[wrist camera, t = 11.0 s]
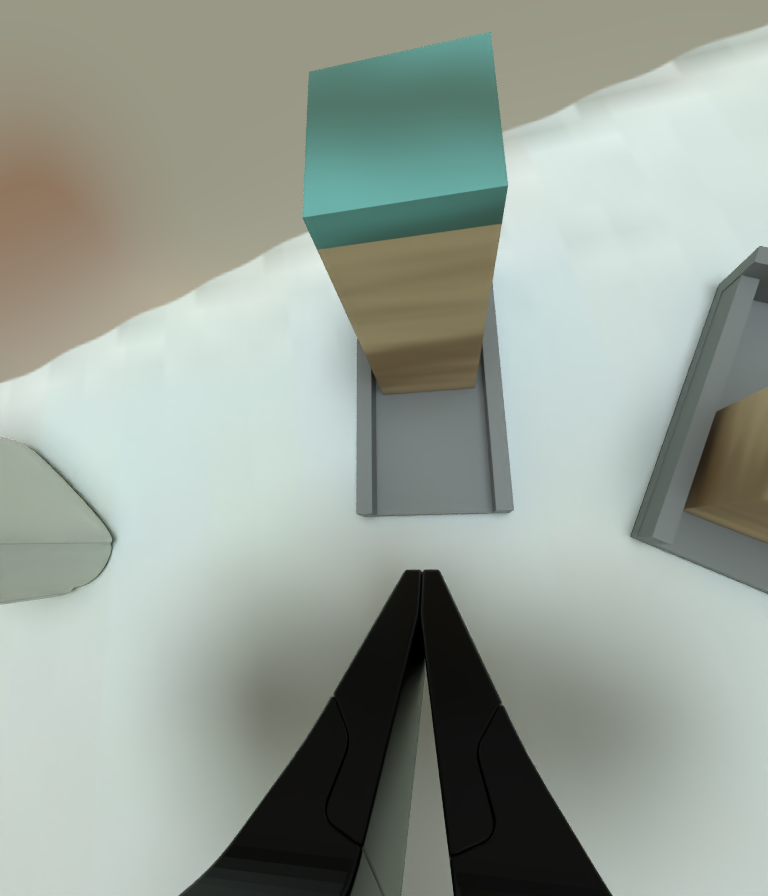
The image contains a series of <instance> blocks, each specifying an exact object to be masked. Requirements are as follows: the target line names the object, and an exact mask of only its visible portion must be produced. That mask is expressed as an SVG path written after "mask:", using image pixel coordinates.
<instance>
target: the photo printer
mask: <svg viewBox="0 0 768 896" xmlns="http://www.w3.org/2000/svg"><path fill="white" fill-rule="evenodd" d="M111 542H112V537H111V535H110V533H109V532H108V530H107V528H106V527H105V525H104V524H103V523H102V522H101V520H100V519H99V518H98V517H97V516H96V515H95V513H94V512H93V511H92V510H91V509H90V508H89V506H88V505H87V504H86V503H85V502H84V501H83V500H82V499H81V498H80V497H79V495H78V494H77V493H76V492H75V491H74V490H73V489H72V488H71V487H70V486H69V485H68V484H67V483H66V482H65V481H64V479H63V478H62V477H60V476H59V475H58V473H56V472H55V471H54V470H53V469H52V468H51V467H50V466H49V465H48V464H47V463H46V462H45V461H44V460H43V459H42V458H41V457H40V456H39V455H38V454H37V453H36V452H34V451H33V450H32V449H30V448H29V447H27V446H25V445H23V444H21V443H19V442H16V441H13V440H10V439H6V438H2V437H0V605H2V604H9V603H15V602H23V601H29V600H36V599H43V598H50V597H56V596H61V595H64V594H67V593H69V592H70V591H71V590H72V589H73V588H75V587H80V586H83V585H85V584H87V583H89V582H90V581H92V580H93V579H94V578H95V577H97V575H98V574H99V573H100V572H101V571H102V570H103V568H104V566H105V565H106V563H107V561H108V559H109V556H110V553H111V549H112V547H111V544H110V543H111Z"/></svg>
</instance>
